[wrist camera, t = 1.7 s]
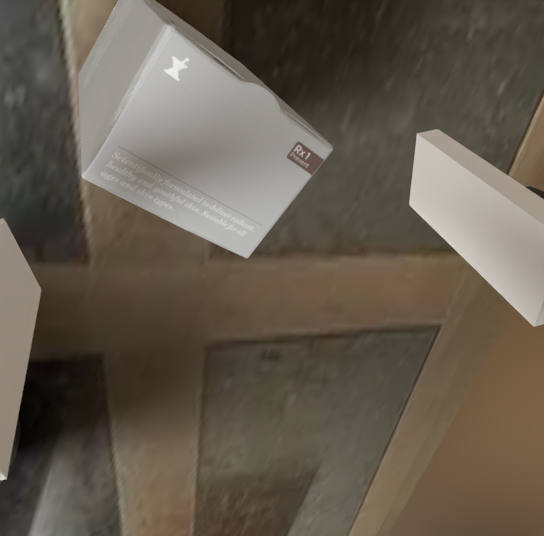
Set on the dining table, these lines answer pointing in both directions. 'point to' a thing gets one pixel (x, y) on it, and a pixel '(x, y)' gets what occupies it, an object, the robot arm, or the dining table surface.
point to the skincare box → (189, 129)
